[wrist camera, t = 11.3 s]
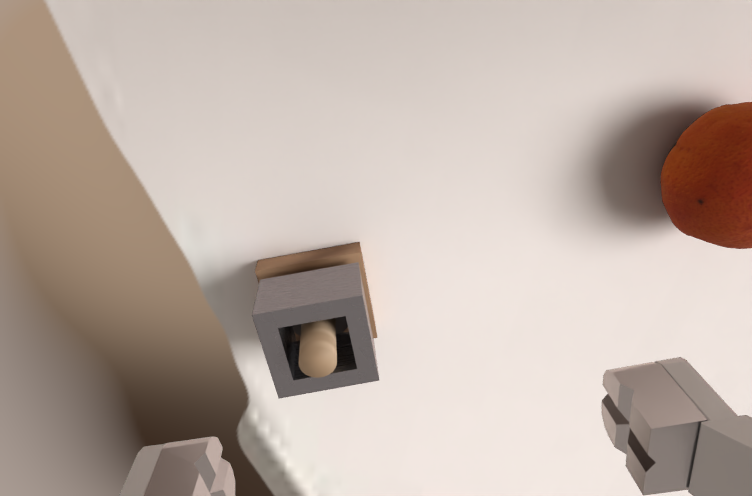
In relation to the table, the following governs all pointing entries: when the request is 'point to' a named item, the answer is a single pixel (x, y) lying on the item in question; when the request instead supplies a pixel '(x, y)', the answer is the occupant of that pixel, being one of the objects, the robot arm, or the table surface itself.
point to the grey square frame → (309, 304)
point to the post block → (321, 335)
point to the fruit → (712, 178)
